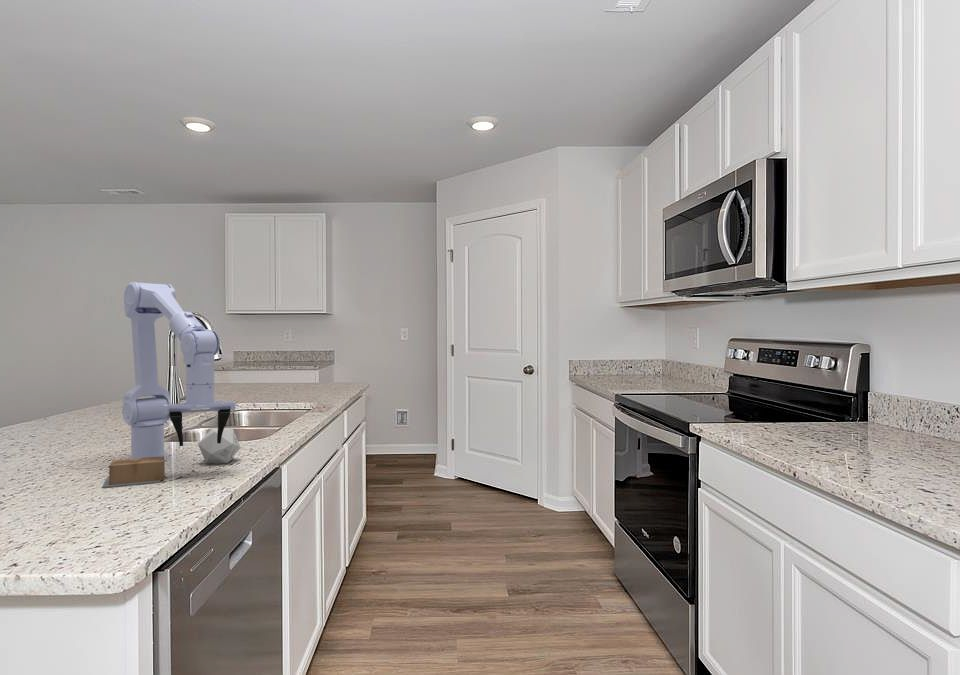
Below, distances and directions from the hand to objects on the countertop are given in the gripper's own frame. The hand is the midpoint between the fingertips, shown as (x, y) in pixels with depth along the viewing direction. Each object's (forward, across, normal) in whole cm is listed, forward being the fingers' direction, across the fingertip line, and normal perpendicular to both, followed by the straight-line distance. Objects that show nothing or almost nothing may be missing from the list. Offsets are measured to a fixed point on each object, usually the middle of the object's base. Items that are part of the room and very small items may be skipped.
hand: (200, 444), depth 134 cm
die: (+7, +4, +12) cm, 15 cm away
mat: (+7, -13, 0) cm, 15 cm away
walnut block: (+5, -7, 0) cm, 9 cm away
